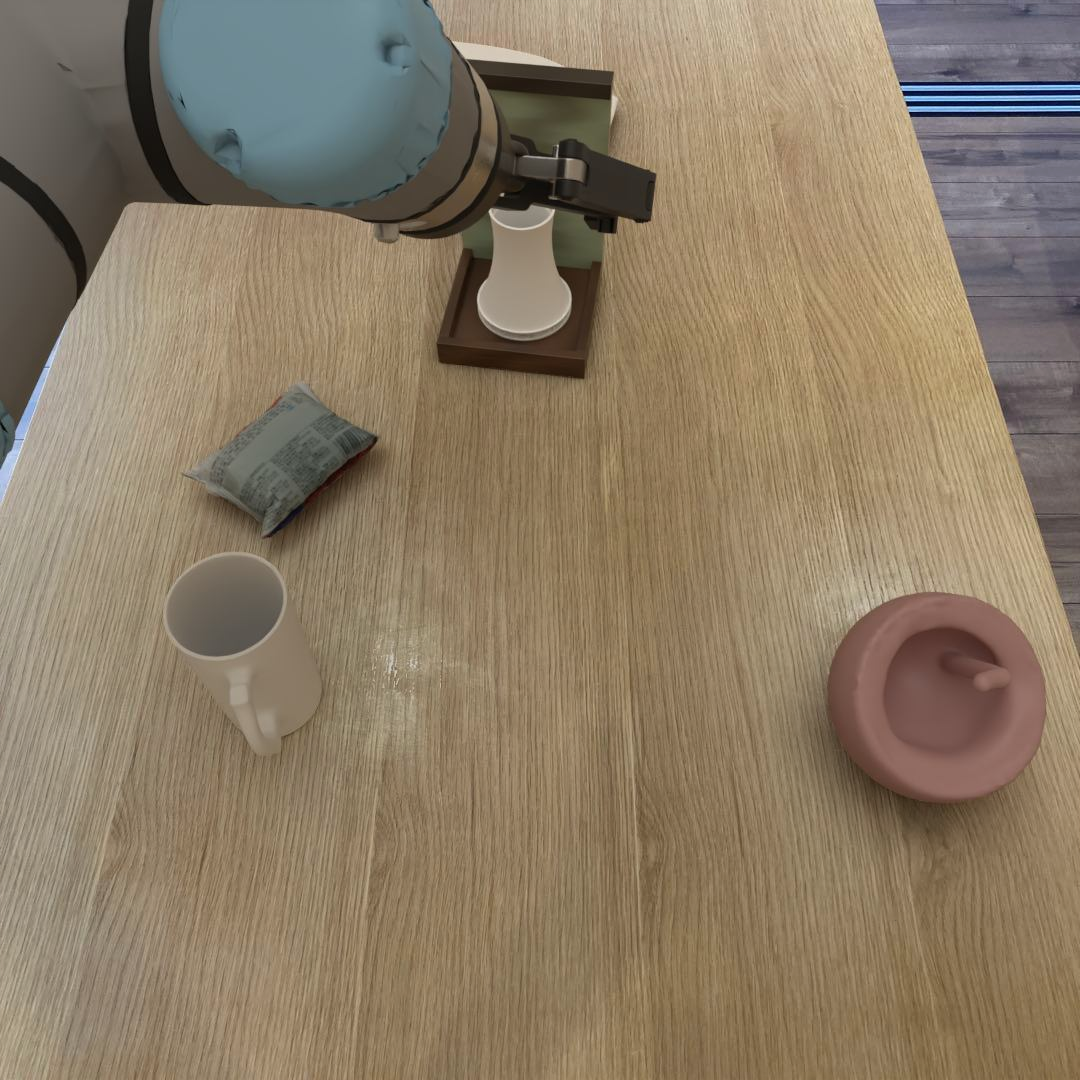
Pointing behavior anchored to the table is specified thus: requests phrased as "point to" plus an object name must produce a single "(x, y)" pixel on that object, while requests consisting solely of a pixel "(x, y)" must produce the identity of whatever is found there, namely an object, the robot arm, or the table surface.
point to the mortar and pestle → (938, 697)
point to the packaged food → (284, 458)
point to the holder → (546, 118)
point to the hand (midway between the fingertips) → (489, 196)
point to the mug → (245, 645)
